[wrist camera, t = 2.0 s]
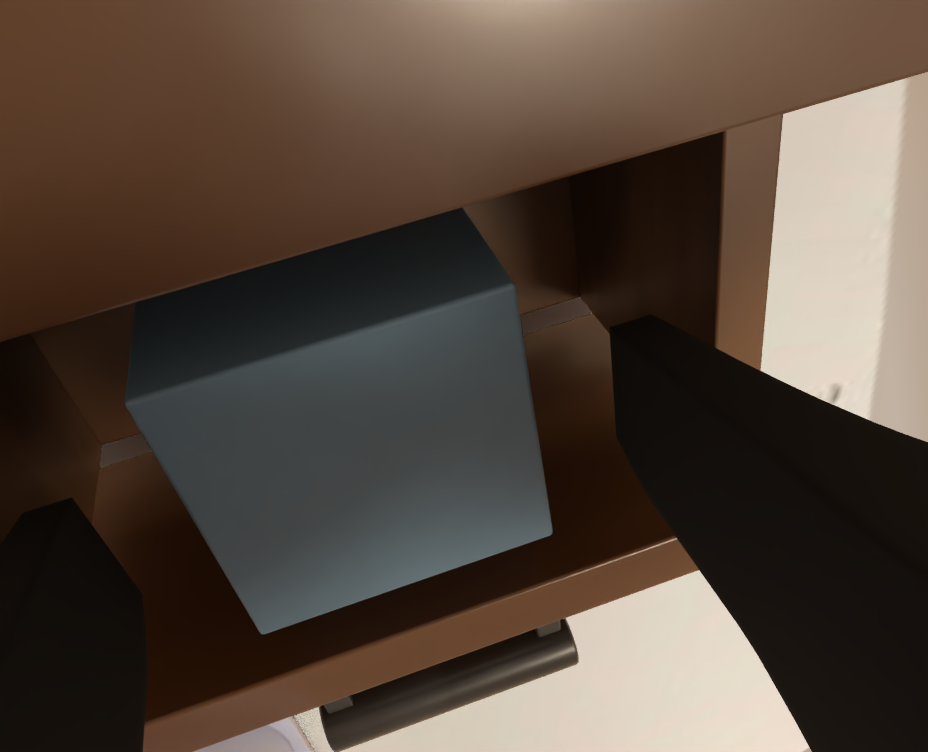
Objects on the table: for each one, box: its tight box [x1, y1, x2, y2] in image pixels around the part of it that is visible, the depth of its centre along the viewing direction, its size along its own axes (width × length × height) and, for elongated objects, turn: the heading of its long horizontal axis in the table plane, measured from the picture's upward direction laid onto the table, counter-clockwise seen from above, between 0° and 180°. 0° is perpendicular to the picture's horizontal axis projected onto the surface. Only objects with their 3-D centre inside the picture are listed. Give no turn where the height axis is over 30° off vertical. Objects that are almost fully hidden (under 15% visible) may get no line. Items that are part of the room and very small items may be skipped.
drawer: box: [0, 114, 783, 752], centre depth 14 cm, size 18×13×7 cm
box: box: [125, 207, 553, 634], centre depth 13 cm, size 5×5×6 cm
